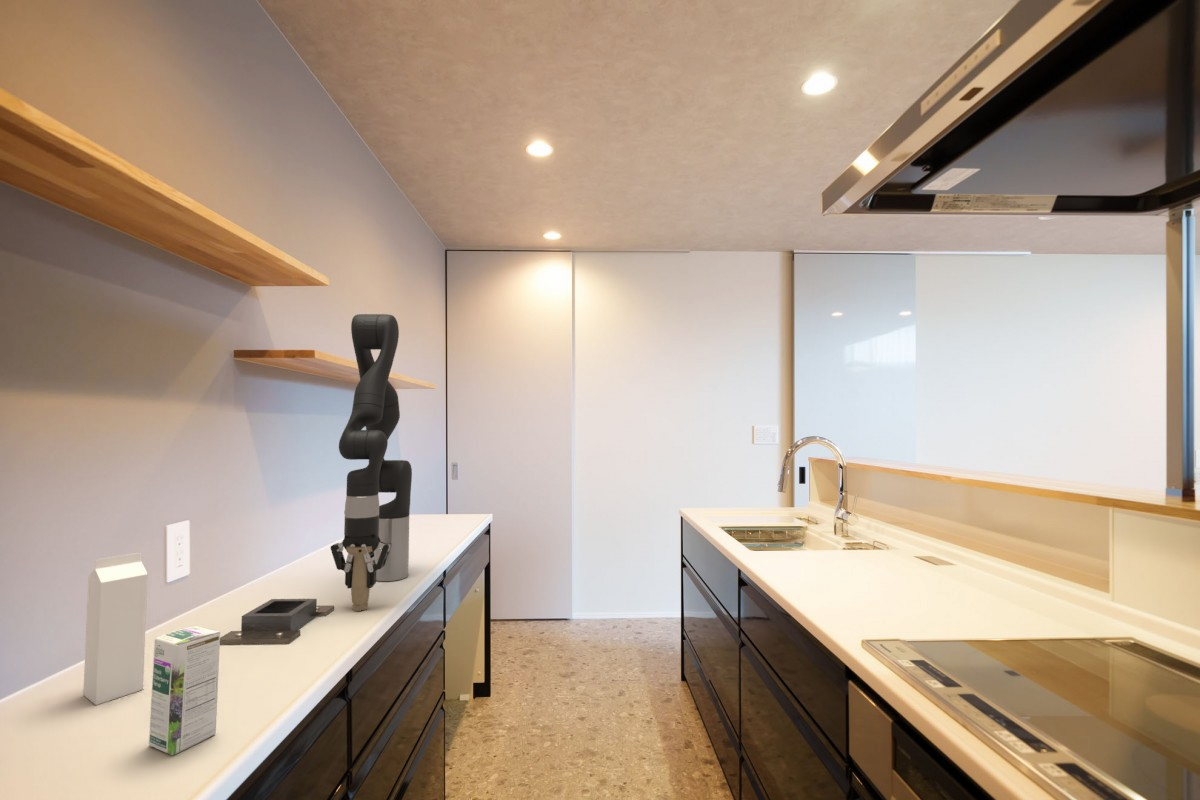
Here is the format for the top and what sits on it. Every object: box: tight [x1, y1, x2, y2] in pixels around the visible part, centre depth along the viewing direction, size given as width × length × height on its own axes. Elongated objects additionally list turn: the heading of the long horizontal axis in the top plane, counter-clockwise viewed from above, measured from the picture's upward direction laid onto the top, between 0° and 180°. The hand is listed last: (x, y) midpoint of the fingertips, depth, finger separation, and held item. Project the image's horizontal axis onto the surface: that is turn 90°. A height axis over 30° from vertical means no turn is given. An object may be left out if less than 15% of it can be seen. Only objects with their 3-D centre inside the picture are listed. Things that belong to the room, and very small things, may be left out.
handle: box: [346, 546, 376, 612], centre depth 129 cm, size 5×6×15 cm
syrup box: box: [148, 625, 221, 756], centre depth 76 cm, size 6×6×14 cm
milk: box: [82, 552, 149, 706], centre depth 89 cm, size 6×6×22 cm
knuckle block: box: [220, 598, 335, 646], centre depth 118 cm, size 20×14×4 cm
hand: (360, 586), depth 129 cm, fingers closed on handle, 4 cm apart
